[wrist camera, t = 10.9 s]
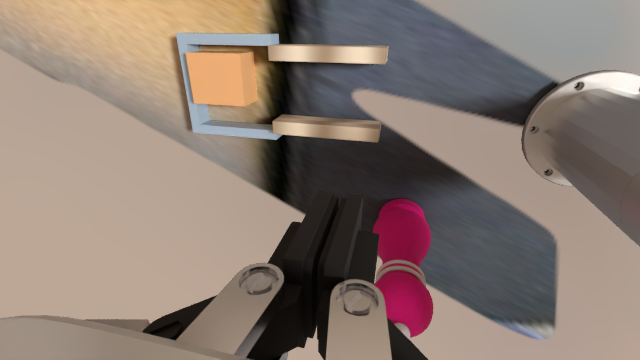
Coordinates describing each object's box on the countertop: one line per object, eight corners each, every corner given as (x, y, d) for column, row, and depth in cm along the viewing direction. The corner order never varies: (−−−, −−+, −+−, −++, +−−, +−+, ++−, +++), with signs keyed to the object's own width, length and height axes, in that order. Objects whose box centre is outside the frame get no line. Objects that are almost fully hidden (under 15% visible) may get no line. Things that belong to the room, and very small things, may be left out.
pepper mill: (431, 237, 44) (448, 374, 27) (379, 240, 46) (364, 368, 29) (425, 192, 41) (441, 311, 24) (371, 197, 44) (349, 310, 26)
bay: (278, 33, 37) (270, 34, 35) (283, 134, 43) (276, 139, 40) (188, 33, 40) (175, 33, 38) (203, 127, 45) (193, 132, 43)
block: (254, 51, 39) (239, 53, 36) (258, 100, 42) (244, 106, 38) (204, 50, 41) (185, 52, 37) (211, 97, 43) (194, 103, 40)
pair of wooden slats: (388, 45, 35) (386, 47, 32) (380, 133, 39) (378, 142, 36) (278, 44, 38) (267, 45, 35) (282, 126, 42) (273, 133, 39)
